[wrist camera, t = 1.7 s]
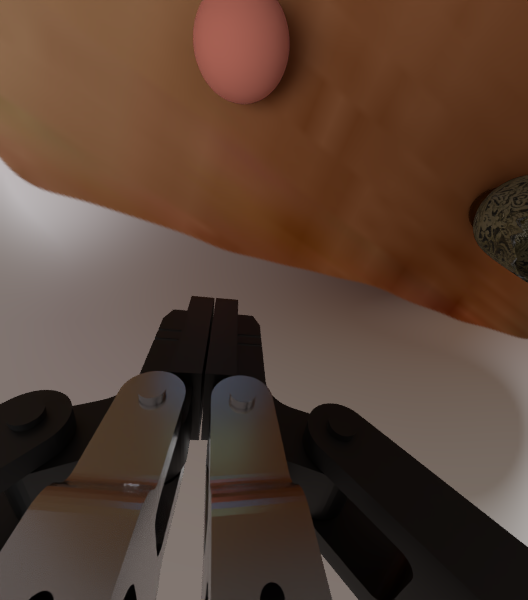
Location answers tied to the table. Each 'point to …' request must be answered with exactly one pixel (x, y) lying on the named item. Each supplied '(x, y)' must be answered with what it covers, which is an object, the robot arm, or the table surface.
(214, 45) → the ball
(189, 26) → the table surface
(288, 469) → the robot arm
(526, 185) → the cup
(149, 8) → the table surface
